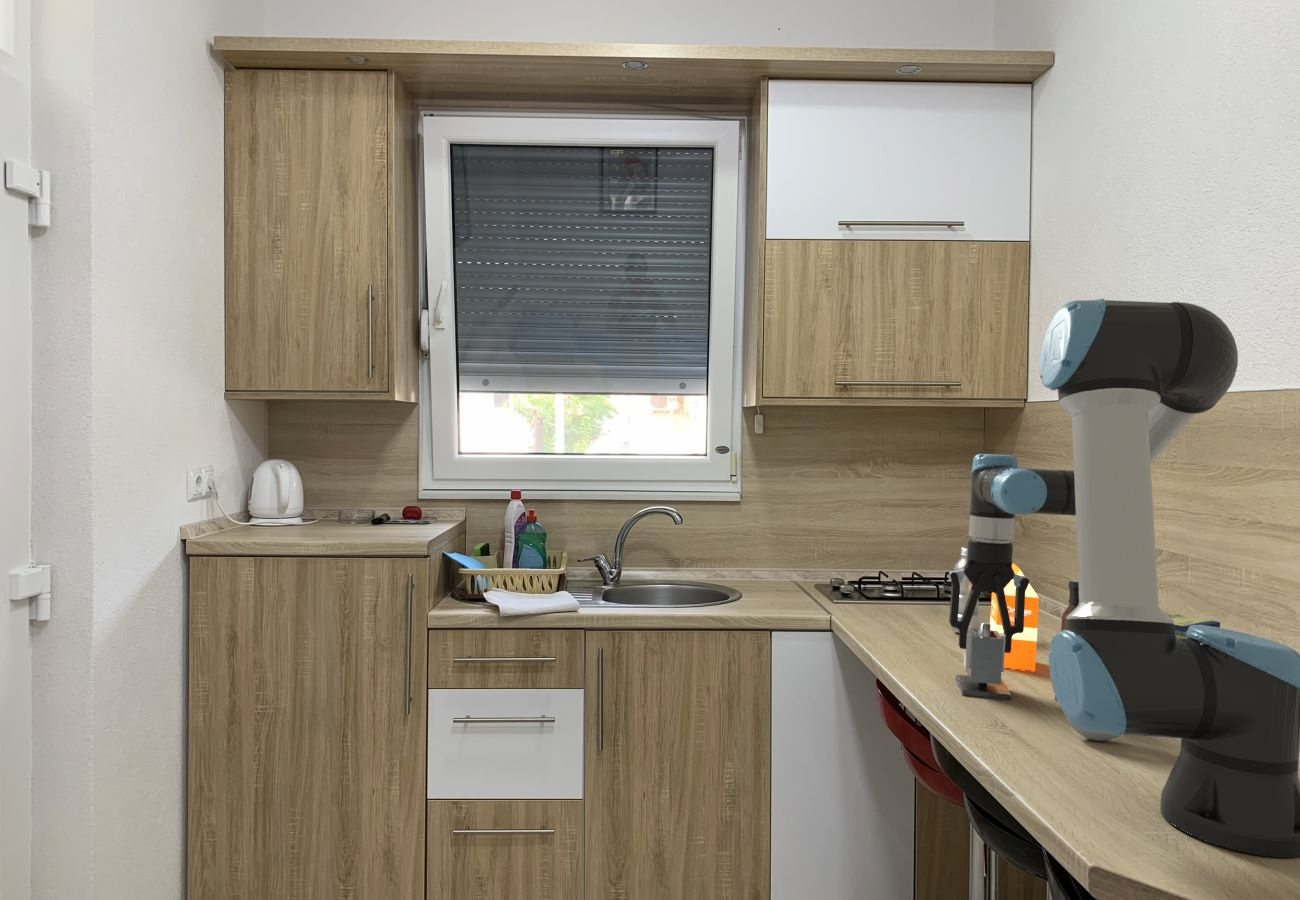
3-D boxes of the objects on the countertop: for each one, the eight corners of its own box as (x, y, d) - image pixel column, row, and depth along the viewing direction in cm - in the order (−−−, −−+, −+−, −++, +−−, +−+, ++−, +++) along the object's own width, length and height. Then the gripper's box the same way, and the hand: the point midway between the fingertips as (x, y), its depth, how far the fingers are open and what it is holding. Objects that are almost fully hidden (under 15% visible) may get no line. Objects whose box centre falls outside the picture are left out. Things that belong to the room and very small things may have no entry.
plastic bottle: (950, 635, 201) (955, 548, 200) (949, 629, 207) (953, 545, 207) (980, 638, 199) (985, 550, 199) (978, 632, 206) (983, 547, 205)
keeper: (1010, 700, 152) (1014, 631, 152) (962, 695, 154) (966, 627, 154) (1001, 684, 162) (1004, 620, 162) (955, 679, 164) (959, 616, 164)
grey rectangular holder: (1000, 684, 154) (1003, 639, 154) (970, 681, 155) (973, 636, 155) (994, 674, 161) (996, 630, 161) (965, 671, 162) (968, 628, 162)
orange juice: (993, 667, 174) (999, 567, 174) (987, 656, 183) (992, 561, 182) (1036, 671, 172) (1041, 570, 172) (1027, 660, 181) (1033, 564, 180)
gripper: (1040, 541, 159) (1032, 668, 160) (936, 534, 163) (929, 658, 164) (1049, 546, 152) (1041, 679, 152) (939, 538, 156) (932, 668, 156)
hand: (983, 668), depth 158 cm, fingers closed on grey rectangular holder, 5 cm apart
